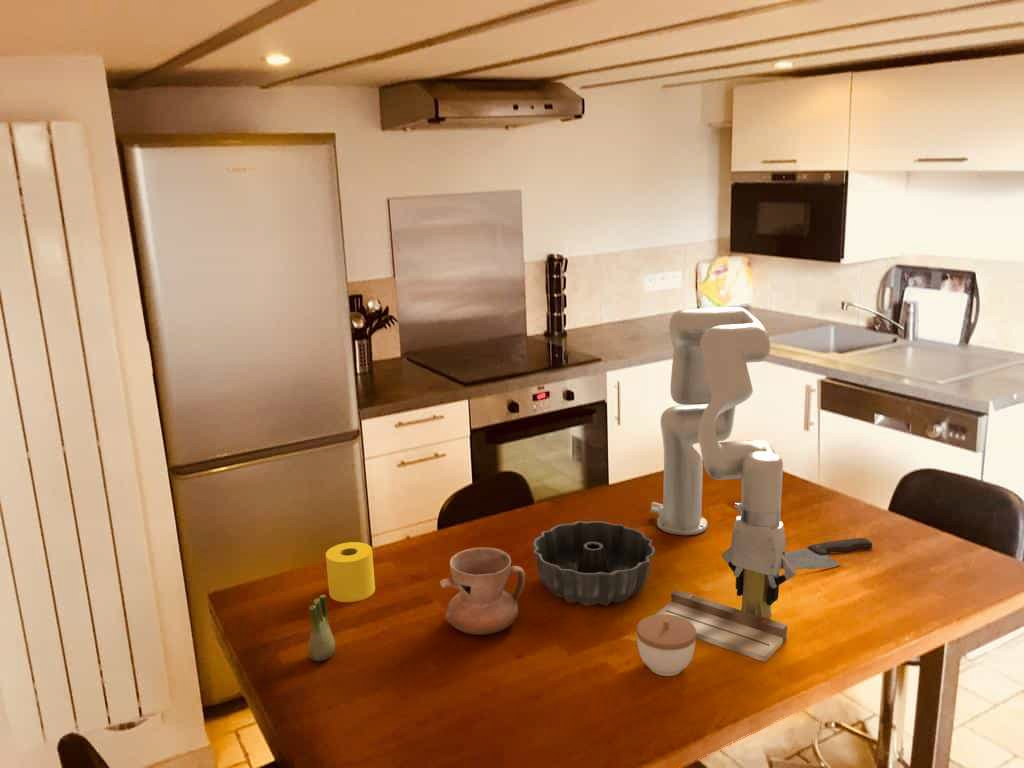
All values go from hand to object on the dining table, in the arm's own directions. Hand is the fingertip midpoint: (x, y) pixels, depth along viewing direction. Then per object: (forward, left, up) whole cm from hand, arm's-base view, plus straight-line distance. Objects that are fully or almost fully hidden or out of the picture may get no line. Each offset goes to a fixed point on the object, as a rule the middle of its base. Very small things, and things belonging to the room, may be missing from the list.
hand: (756, 597), depth 173 cm
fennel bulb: (-60, -62, -5) cm, 86 cm away
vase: (0, 0, -4) cm, 4 cm away
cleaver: (+1, +34, -5) cm, 34 cm away
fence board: (-4, -9, -5) cm, 11 cm away
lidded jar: (-6, -26, -5) cm, 27 cm away
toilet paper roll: (-76, -41, -5) cm, 86 cm away
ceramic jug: (-43, -34, -5) cm, 55 cm away
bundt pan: (-34, -8, -5) cm, 35 cm away
